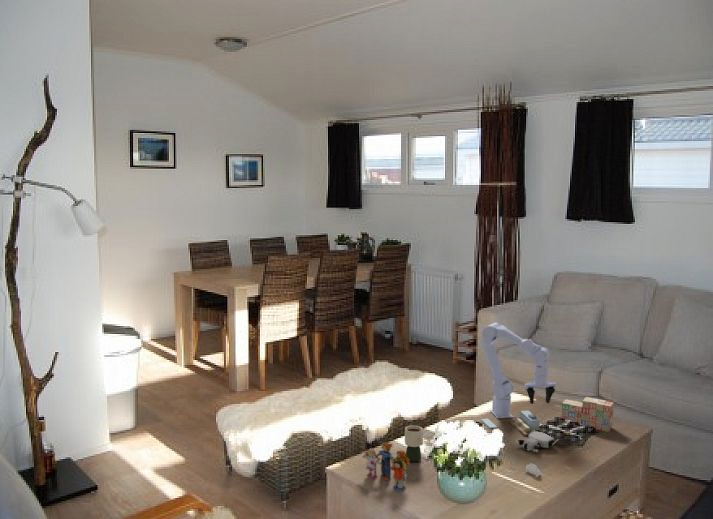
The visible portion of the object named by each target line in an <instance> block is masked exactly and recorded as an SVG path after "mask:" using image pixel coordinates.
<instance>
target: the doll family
mask: <svg viewBox="0 0 713 519" xmlns="http://www.w3.org/2000/svg"><path fill="white" fill-rule="evenodd" d="M393 446H394V444H393V443H389V442H383V443H381V447H380V448H381V449H382V450H379V451H378V452H377V453H376V450H375V449H374V448H369V449H368V450H365V451H364V454H362V456H361V457H362V458H363V459H366V460H367V462H366V467H365V469H366V470H368V474H366V476H367V477H369V478H371V479H373V480H376V479H378V474H377V464H378V465H380V472H381V474H380V478H383V479H384V480H386V481H387V480H390V479H391V475H392V474H391V470H392V471H393V479H394V485H393V487H392V488H393V489H395V490H396V491H397V492H402V491H403V490H404V488H403V487H404V486H403V485H405V484H406V482H407V477H408V474H406V472H407V471H406V470H407V468H406V465H408V466H410V464H411V463H410V461H409V458H407V456H406V451H405V450H398V451H396V456H395V457H394V456H393V454H392V452H390V451H391V449H392V448H393ZM380 456H381V458H380ZM380 460H381V461H380ZM372 475H373V476H372ZM375 478H376V479H375Z"/></svg>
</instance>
